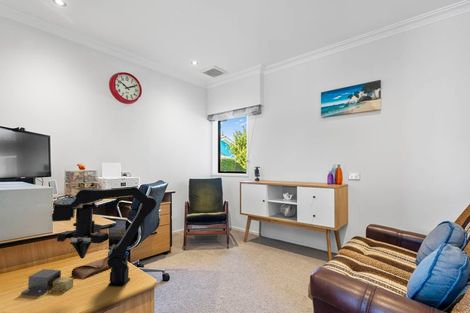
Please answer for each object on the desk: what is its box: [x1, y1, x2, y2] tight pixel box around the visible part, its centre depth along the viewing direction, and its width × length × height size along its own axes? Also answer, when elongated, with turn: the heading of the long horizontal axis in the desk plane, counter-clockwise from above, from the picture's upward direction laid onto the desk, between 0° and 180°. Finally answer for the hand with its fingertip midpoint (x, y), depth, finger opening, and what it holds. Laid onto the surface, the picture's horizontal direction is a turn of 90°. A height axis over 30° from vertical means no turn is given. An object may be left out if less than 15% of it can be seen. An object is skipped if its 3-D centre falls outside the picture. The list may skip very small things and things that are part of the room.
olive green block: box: [51, 276, 74, 292], centre depth 97 cm, size 6×4×4 cm, turn 85°
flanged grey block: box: [20, 268, 62, 296], centre depth 97 cm, size 8×12×6 cm, turn 175°
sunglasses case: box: [71, 256, 112, 281], centre depth 113 cm, size 18×7×7 cm, turn 151°
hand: (82, 258), depth 96 cm, fingers closed
